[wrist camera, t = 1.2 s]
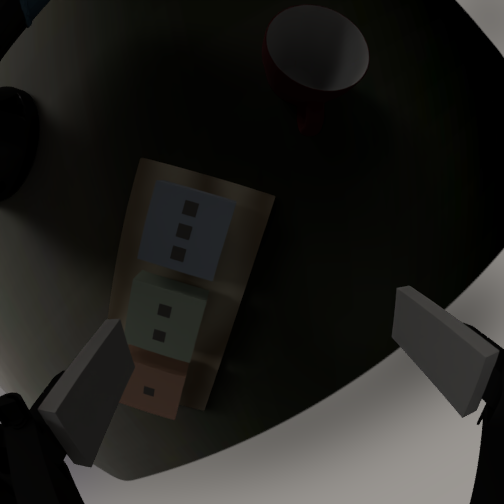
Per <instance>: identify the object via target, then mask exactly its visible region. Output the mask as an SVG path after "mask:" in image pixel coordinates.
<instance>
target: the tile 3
mask: <svg viewBox="0 0 504 504" xmlns="http://www.w3.org/2000/svg"><path fill="white" fill-rule="evenodd" d="M235 206H236V201H234V200H231V199H227V198H224V197H221V196H217V195H214V194H211V193H207V192H204V191H200V190H197V189H194V188H190V187H187V186H183V185H179V184H176V183H172V182H169V181H165V180H156V183H155V187H154V190H153V194H152V198H151V201H150V205H149V209H148V213H147V217H146V221H145V225H144V230H143V234H142V238H141V243H140V247H139V252H138V257H137V258H138V259H141V260H144V261H147V262H150V263H153V264H157V265H160V266H163V267H166V268H169V269H173V270H176V271H179V272H182V273H186V274H189V275H192V276H196V277H199V278H202V279H206V280H209V281H212V282H213V278H214V275H215V272H216V268H217V265H218V261H219V258H220V255H221V251H222V248H223V245H224V242H225V238H226V235H227V232H228V228H229V225H230V222H231V219H232V216H233V212H234V209H235Z"/></svg>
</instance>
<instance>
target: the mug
mask: <svg viewBox="0 0 504 504" xmlns="http://www.w3.org/2000/svg"><path fill="white" fill-rule="evenodd" d="M262 60H263V65H264V69H265V73H266V77H267V81H268V83H269V85H270V87H271V89H272V90H273V91H274V93H275V94H276V95H277V96H279V97H280V98H281V99H283V100H284V101H286V102H288V103H291V104H293V105H295V106H297V125H298V129H299V131H300V133H301V134H302V135H305V136H315V135H317V134H318V133H319V132H320V130H321V128H322V125H323V121H324V103H325V102H327V101H330V100H332V99H335V98H337V97H339V96H341V95H343V94H345V93H346V92H347V91H349V90H350V89H351V88H353V87H354V86H355V85H356V84H357V83H358V82H360V80H361V79H362V78H363V77H364V75H365V74H366V72H367V70H368V67H369V61H370V54H369V48H368V45H367V42H366V40H365V38H364V36H363V34H362V33H361V31H360V30H359V29H358V28H357V26H356V25H355V24H354V23H353V22H351V21H350V20H349V19H348V18H347V17H345V16H344V15H342V14H340V13H338V12H337V11H334V10H332V9H329V8H326V7H323V6H318V5H309V4H308V5H297V6H292V7H289V8H287V9H285V10H283V11H281V12H279V13H278V14H277V15H276V16H275V17H274V18H273V19H272V20H271V22H270V23H269V25H268V27H267V29H266V33H265V36H264V40H263V46H262Z"/></svg>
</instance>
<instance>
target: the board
mask: <svg viewBox="0 0 504 504" xmlns="http://www.w3.org/2000/svg"><path fill="white" fill-rule="evenodd" d="M156 180H165V181H169V182H172V183H176V184H179V185H183V186H187V187H190V188H194V189H197V190H200V191H204V192H207V193H211V194H214V195H217V196H221V197H224V198H227V199H231V200H234V201H236V206H235V209H234V212H233V216H232V219H231V222H230V225H229V228H228V232H227V235H226V238H225V242H224V245H223V248H222V251H221V255H220V258H219V261H218V265H217V268H216V272H215V275H214V278H213V282H212V281H209V280H206V279H202V278H199V277H196V276H192V275H189V274H186V273H182V272H179V271H176V270H173V269H169V268H166V267H163V266H160V265H157V264H153V263H150V262H147V261H144V260H141V259H138V258H137V257H138V252H139V247H140V243H141V238H142V234H143V230H144V225H145V221H146V217H147V213H148V209H149V205H150V201H151V198H152V194H153V190H154V187H155V183H156ZM275 197H276V196H273V195H270V194H267V193H264V192H261V191H258V190H255V189H251V188H248V187H245V186H242V185H238V184H235V183H232V182H229V181H225V180H222V179H219V178H215V177H212V176H208V175H205V174H201V173H198V172H194V171H191V170H187V169H183V168H180V167H176V166H172V165H169V164H165V163H161V162H157V161H153V160H149V159H146V158H140V162H139V165H138V168H137V172H136V176H135V179H134V183H133V187H132V191H131V195H130V199H129V203H128V207H127V211H126V215H125V220H124V224H123V229H122V234H121V239H120V244H119V249H118V254H117V259H116V265H115V271H114V277H113V284H112V290H111V297H110V305H109V313H108V319H120V320H121V323H122V327H123V330H124V332H125V325H126V318H127V312H128V305H129V299H130V293H131V288H132V282H133V279H134V278H135V277H136V276H137V275H138V274H139V273H140V272H141V271H142V270H144V271H147V272H150V273H153V274H156V275H159V276H162V277H166V278H169V279H172V280H175V281H179V282H182V283H185V284H188V285H192V286H195V287H198V288H202V289H205V290H209V294H208V298H207V302H206V306H205V309H204V313H203V316H202V320H201V324H200V327H199V331H198V334H197V338H196V342H195V345H194V349H193V352H192V356H191V360H190V363H189V366H188V370H187V374H186V379H185V382H184V386H183V390H182V394H181V398H180V402H179V404H180V405H183V406H187V407H191V408H195V409H199V410H203V411H204V410H205V407H206V404H207V401H208V398H209V395H210V392H211V389H212V386H213V384H214V381H215V378H216V375H217V372H218V369H219V366H220V363H221V360H222V357H223V354H224V351H225V348H226V345H227V342H228V339H229V336H230V333H231V330H232V327H233V324H234V321H235V318H236V315H237V312H238V309H239V306H240V303H241V300H242V297H243V294H244V291H245V288H246V285H247V282H248V279H249V276H250V273H251V270H252V267H253V264H254V260H255V257H256V254H257V251H258V248H259V245H260V242H261V239H262V236H263V233H264V230H265V227H266V224H267V221H268V218H269V215H270V212H271V209H272V206H273V203H274V200H275ZM128 345H129V344H128Z"/></svg>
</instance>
